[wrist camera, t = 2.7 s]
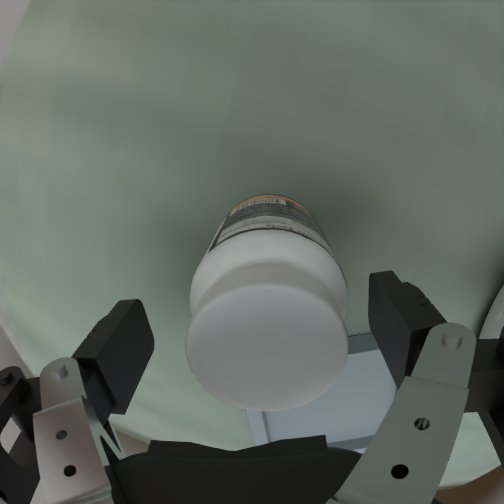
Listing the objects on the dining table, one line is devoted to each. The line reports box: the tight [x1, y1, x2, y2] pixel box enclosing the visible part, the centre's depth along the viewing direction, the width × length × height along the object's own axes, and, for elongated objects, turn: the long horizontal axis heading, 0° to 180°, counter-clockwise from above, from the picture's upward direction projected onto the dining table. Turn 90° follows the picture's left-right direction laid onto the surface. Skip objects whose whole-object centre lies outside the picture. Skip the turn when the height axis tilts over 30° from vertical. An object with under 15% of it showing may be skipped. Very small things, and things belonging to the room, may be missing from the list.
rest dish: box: [246, 333, 398, 454], centre depth 21 cm, size 12×12×2 cm
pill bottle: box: [186, 195, 349, 412], centre depth 13 cm, size 6×6×10 cm
